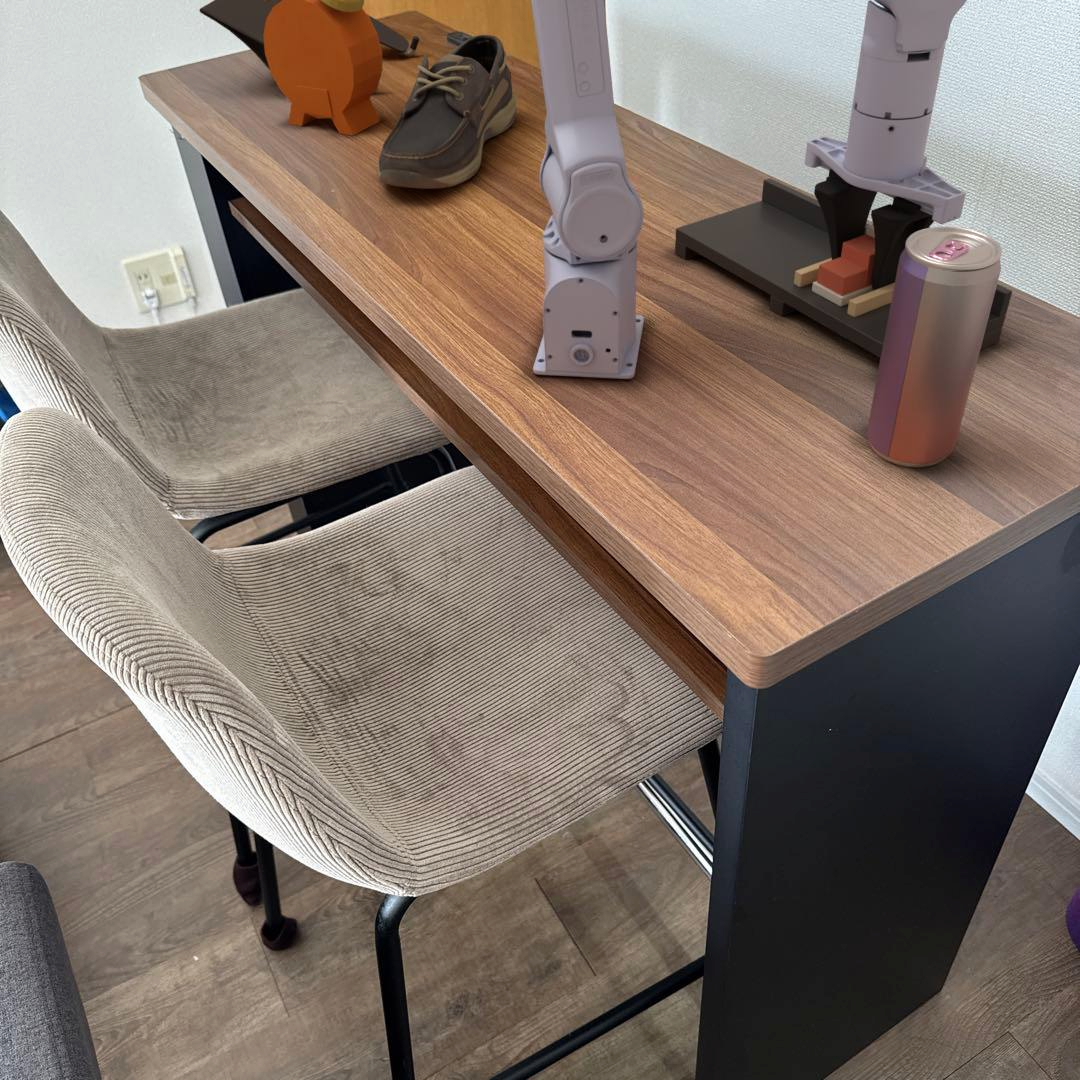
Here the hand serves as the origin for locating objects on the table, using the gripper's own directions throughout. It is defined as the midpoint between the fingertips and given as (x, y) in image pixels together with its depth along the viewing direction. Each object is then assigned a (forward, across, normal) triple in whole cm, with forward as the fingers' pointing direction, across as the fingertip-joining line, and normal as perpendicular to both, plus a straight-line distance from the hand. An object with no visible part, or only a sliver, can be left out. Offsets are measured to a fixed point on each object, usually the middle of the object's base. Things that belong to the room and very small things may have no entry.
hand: (863, 276), depth 87 cm
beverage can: (+3, -16, +11) cm, 19 cm away
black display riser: (+3, +4, 0) cm, 5 cm away
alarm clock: (+3, +72, +17) cm, 74 cm away
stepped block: (+1, 0, 0) cm, 1 cm away
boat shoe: (+3, +54, +11) cm, 55 cm away
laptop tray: (+3, +90, +10) cm, 91 cm away
